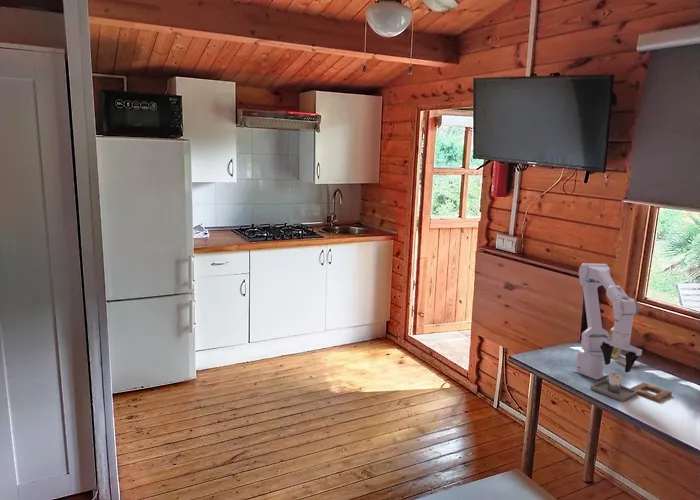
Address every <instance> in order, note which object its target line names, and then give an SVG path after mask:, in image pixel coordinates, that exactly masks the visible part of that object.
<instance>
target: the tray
mask: <svg viewBox="0 0 700 500" xmlns="http://www.w3.org/2000/svg"><path fill="white" fill-rule="evenodd" d="M608 384H609V379H603V380H601V381H597V382H595V383H593V384H591V385H590V390H591V389H592V390H591V391H594V390H595V391H594V392H596V391H597V393H599V392H600V393H599V394H601V393H602V394H601V395H604V394H605V395H604V396H606V395H607V397H609V396H610V397H609V398H611V397H612V399H614V398H615V399H614V400H617V399H618V400H617V401H619V400H620V402H621V403H624V402H627V401H628V400H630V399H633V398H634V397H637V396H638V394H637V391H635V390H632V389H630V388H631V387H630V388H629V387H627V386H624V385H622V384H621V388H620V393H612V392H610V391H608Z"/></svg>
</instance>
